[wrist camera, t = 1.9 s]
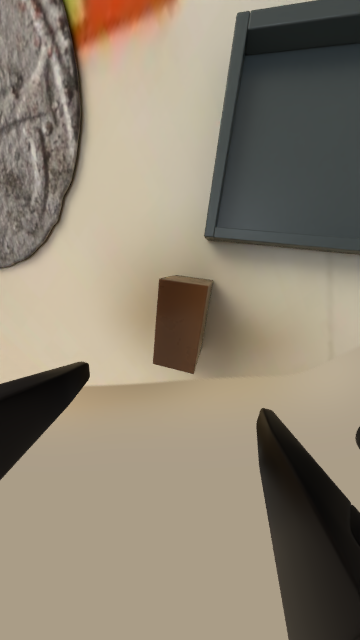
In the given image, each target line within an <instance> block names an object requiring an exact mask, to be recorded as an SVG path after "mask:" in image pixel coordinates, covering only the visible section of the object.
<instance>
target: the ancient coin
mask: <svg viewBox="0 0 360 640" xmlns="http://www.w3.org/2000/svg"><path fill="white" fill-rule="evenodd" d="M80 119H81V107H80V94H79V80H78V71H77V65H76V60H75V54H74V48H73V43H72V38H71V34H70V29H69V25H68V20H67V16H66V12H65V7H64V4H63V1H62V0H0V268H2V267H9V266H11V265H12V264H15V263H17V262H20V261H23V260H25V259H27V258H28V257H29V256H31V255H32V254H33V253H34V252H35V251H36V250H37V249H38V247H39V246H41V245H42V244H43V243H44V241H45V240H46V238H47V236H48V235H49V233H50V231H51V229H52V227H53V225H55V224H56V223H57V221H58V219H59V214H60V211H61V207H62V200H63V197H64V195H65V193H66V191H67V189H68V188H69V186H70V183H71V181H72V177H73V172H74V168H75V163H76V159H77V150H78V140H79V134H80Z"/></svg>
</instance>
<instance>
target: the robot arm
mask: <svg viewBox="0 0 360 640" xmlns="http://www.w3.org/2000/svg"><path fill="white" fill-rule="evenodd" d="M89 377H90V372H89V364H88V363H85V362H77V363H74V364H70V365H66V366H63V367H59V368H56V369H52V370H49V371H45V372H41V373H38V374H34V375H31V376H27V377H24V378H20V379H16V380H13V381H9V382H6V383H2V384H0V480H1V479H2V478H3V477H4V475H5V474H6V473H7V472H8V471H9V470H10V469H11V468H12V467H13V466H14V464H15V463H16V462H17V461H18V460H19V459H20V458H21V457H22V456H23V455H24V454H25V453H26V451H27V450H28V449H29V448H30V447H31V446H32V445H33V444H34V443H35V442H36V441H37V439H38V438H39V437H40V436H41V435H42V434H43V433H44V432H45V431H46V430H47V428H48V427H49V426H50V425H51V424H52V423H53V422H54V421H55V420H56V419H57V417H58V416H59V415H60V414H61V413H62V412H63V411H64V410H65V409H66V408H67V407H68V405H69V404H70V403H71V402H72V401H73V399H74V398H75V397H76V395H77V394H78V393H79V391H80V390H81V389H82V388H83V386H84V385H85V384H86V382H87V381H88V380H89ZM257 441H258V455H259V456H258V457H259V467H260V474H261V480H262V485H263V492H264V497H265V503H266V509H267V515H268V521H269V527H270V533H271V538H272V544H273V550H274V556H275V562H276V567H277V574H278V579H279V585H280V590H281V597H282V603H283V608H284V614H285V621H286V626H287V632H288V638H289V640H360V512H359V511H358V510H357V509H356V508H355V507H354V506H353V505H351V502H350V501H349V500H348V499H347V497H346V496H345V495H344V494H343V493H342V492H341V490H340V489H339V488H338V487H337V486H336V485H335V483H334V482H333V481H332V480H331V479H330V478H329V477H328V475H327V474H326V473H325V472H324V471H323V469H322V468H321V467H320V466H319V465H318V464H317V462H316V461H315V460H314V459H313V458H312V457H311V455H310V454H309V453H308V452H307V451H306V450H305V448H304V447H303V446H302V445H301V444H300V442H299V441H298V440H297V439H296V438H295V437H294V435H293V434H292V433H291V432H290V431H289V430H288V428H287V427H286V426H285V425H284V424H283V423H282V422H281V420H280V419H279V418H278V417H277V416H276V415H275V413H274V412H273V411H272V410H269V409H265V408H262V409H261V411H260V414H259V417H258V420H257Z"/></svg>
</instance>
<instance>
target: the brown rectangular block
mask: <svg viewBox="0 0 360 640" xmlns="http://www.w3.org/2000/svg"><path fill="white" fill-rule="evenodd" d="M212 285H213V280H206V279H199V278H192V277H185V276H178V275H175V276H170V277H165V278H161V279H159V289H158V302H157V316H156V329H155V342H154V356H153V364H156V365H160V366H164V367H168V368H172V369H176V370H180V371H184V372H188V373H192V374H194V371H195V368H196V365H197V361H198V358H199V355H200V351H201V347H202V341H203V336H204V330H205V324H206V319H207V313H208V307H209V302H210V296H211V290H212Z"/></svg>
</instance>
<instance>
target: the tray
mask: <svg viewBox="0 0 360 640" xmlns="http://www.w3.org/2000/svg"><path fill="white" fill-rule="evenodd" d="M204 236H205V238H206V239H207V240H216V241H226V242H236V243H247V244H257V245H267V246H278V247H288V248H299V249H309V250H319V251H330V252H340V253H350V254H360V0H316V1H309V2H303V3H297V4H290V5H284V6H278V7H271V8H265V9H259V10H252V11H251V13H250V11H246V12H239V13H237V17H236V23H235V30H234V37H233V44H232V51H231V57H230V64H229V71H228V78H227V85H226V91H225V98H224V105H223V112H222V119H221V125H220V132H219V139H218V146H217V153H216V159H215V166H214V173H213V180H212V187H211V194H210V200H209V207H208V214H207V221H206V228H205V234H204Z"/></svg>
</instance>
